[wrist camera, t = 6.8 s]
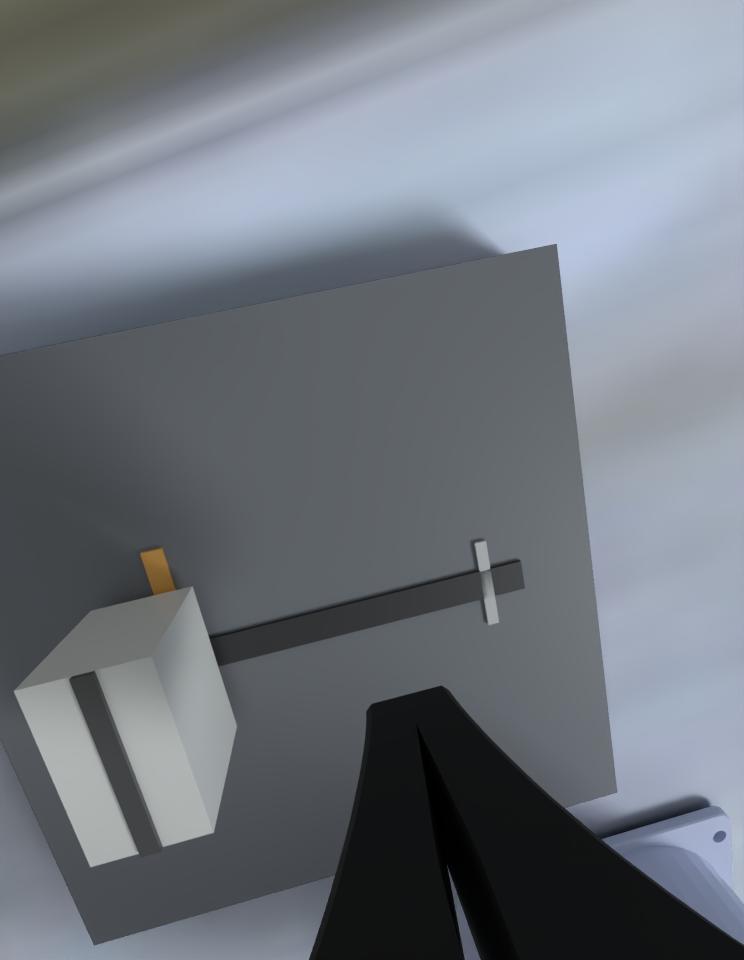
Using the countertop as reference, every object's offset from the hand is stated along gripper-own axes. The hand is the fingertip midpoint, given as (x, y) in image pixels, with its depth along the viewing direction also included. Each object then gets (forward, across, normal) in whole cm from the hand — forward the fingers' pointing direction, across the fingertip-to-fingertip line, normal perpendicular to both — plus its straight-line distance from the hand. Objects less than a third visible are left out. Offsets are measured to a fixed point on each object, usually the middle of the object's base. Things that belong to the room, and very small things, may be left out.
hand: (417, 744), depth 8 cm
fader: (+4, +6, 0) cm, 7 cm away
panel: (+7, +2, 0) cm, 7 cm away
